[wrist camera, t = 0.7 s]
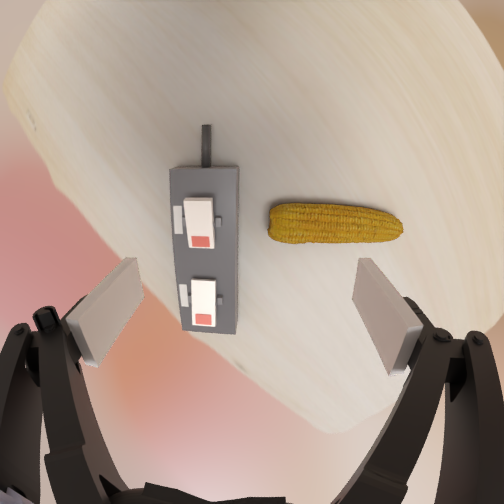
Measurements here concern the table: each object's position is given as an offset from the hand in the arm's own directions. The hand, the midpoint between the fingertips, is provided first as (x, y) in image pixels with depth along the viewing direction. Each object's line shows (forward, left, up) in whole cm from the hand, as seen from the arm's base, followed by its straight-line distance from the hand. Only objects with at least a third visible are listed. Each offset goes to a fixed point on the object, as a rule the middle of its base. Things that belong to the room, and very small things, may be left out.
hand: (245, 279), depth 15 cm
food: (+3, +12, -26) cm, 29 cm away
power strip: (+6, -7, -25) cm, 27 cm away
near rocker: (+3, -7, -20) cm, 21 cm away
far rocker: (+15, -7, -20) cm, 26 cm away
